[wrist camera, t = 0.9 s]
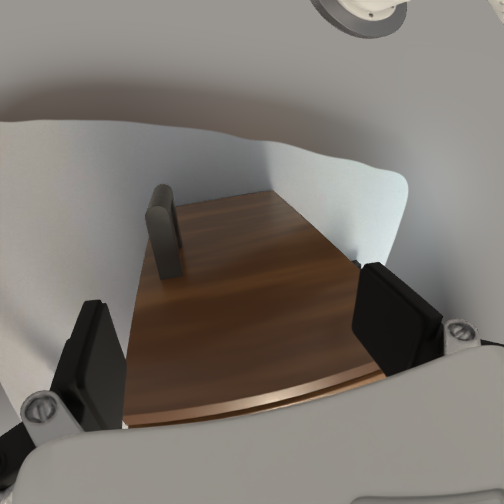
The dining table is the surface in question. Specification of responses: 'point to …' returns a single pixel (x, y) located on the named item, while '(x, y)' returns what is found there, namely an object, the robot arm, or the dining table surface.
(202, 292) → the cupboard door
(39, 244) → the dining table surface
